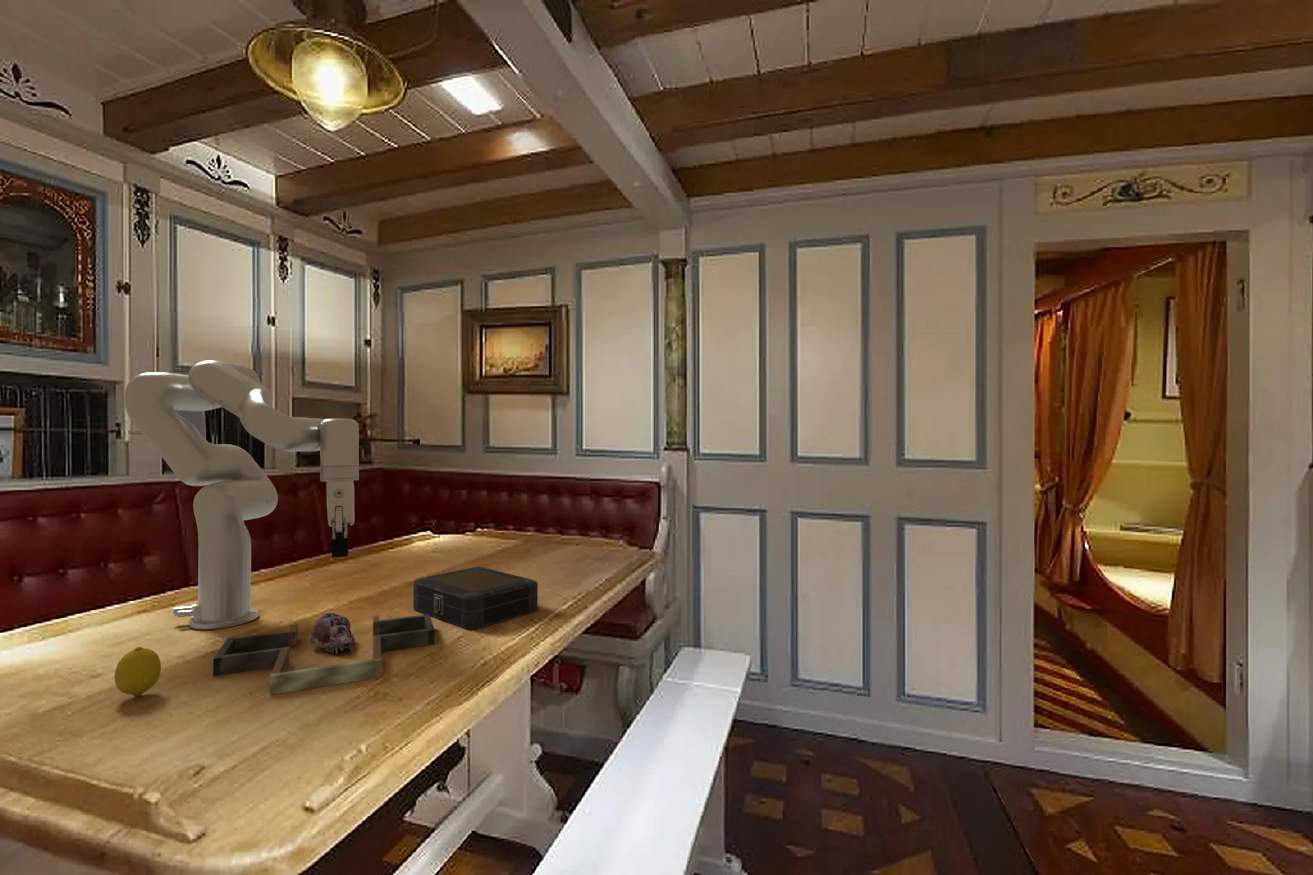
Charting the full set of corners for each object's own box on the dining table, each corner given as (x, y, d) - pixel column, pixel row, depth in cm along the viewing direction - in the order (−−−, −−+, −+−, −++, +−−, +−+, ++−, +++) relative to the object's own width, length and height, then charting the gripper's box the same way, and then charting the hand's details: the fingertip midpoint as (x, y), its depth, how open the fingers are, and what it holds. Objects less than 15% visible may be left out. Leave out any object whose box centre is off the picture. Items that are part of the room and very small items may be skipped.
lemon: (168, 692, 94) (169, 643, 94) (128, 707, 89) (128, 655, 89) (146, 687, 96) (147, 639, 96) (105, 701, 91) (106, 650, 91)
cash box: (407, 611, 140) (408, 579, 140) (479, 593, 156) (479, 565, 156) (467, 633, 124) (468, 598, 124) (540, 611, 140) (540, 580, 140)
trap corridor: (192, 707, 89) (192, 687, 89) (231, 647, 114) (231, 631, 114) (441, 667, 105) (441, 651, 105) (427, 622, 130) (427, 609, 130)
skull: (362, 653, 112) (363, 621, 112) (317, 662, 107) (318, 629, 107) (349, 636, 122) (349, 607, 122) (307, 644, 117) (307, 614, 117)
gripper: (358, 475, 123) (358, 561, 123) (359, 471, 136) (359, 549, 136) (317, 476, 119) (317, 564, 119) (322, 472, 133) (323, 552, 133)
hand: (340, 556), depth 128 cm, fingers closed
